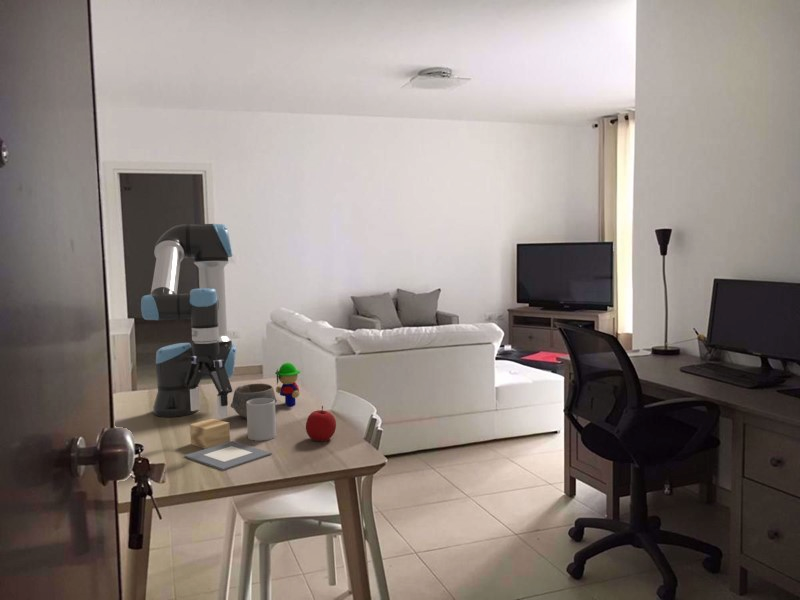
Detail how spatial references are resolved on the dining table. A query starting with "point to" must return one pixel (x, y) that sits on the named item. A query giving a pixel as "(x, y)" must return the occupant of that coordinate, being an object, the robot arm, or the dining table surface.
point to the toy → (288, 383)
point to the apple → (320, 425)
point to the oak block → (209, 433)
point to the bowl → (250, 396)
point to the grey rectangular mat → (227, 455)
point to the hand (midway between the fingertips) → (209, 413)
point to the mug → (261, 419)
